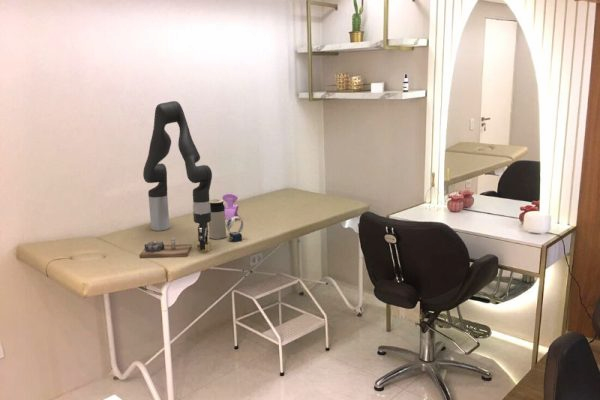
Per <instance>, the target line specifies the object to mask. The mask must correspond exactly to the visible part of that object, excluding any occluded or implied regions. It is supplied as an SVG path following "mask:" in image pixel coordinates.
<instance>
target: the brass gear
mask: <svg viewBox="0 0 600 400" xmlns="http://www.w3.org/2000/svg"><path fill="white" fill-rule="evenodd" d="M196 250H197V252H203V253H204V252H209V251H211V250H212V242H211V241H209V240H208V241H205V250H200V242H199V241H198V242H196Z"/></svg>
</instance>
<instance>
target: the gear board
mask: <svg viewBox="0 0 600 400" xmlns="http://www.w3.org/2000/svg"><path fill="white" fill-rule="evenodd" d="M143 246H144V248H143V250H142V251H141V252H140V254H139V259H150V258H151V259H153V258H155V259H156V258H185V257H186V258H187V257H188V256H189V254H190V252H191V250H192V248H193V245H192V244H188V243H187V244H186V243H185V244H176V239H175V238H173V237H172V238H171V239H170V244H165V243H164V242H163V241H158V240H157V241H155V240H151V241H150V242H147V243H144V245H143Z"/></svg>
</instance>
